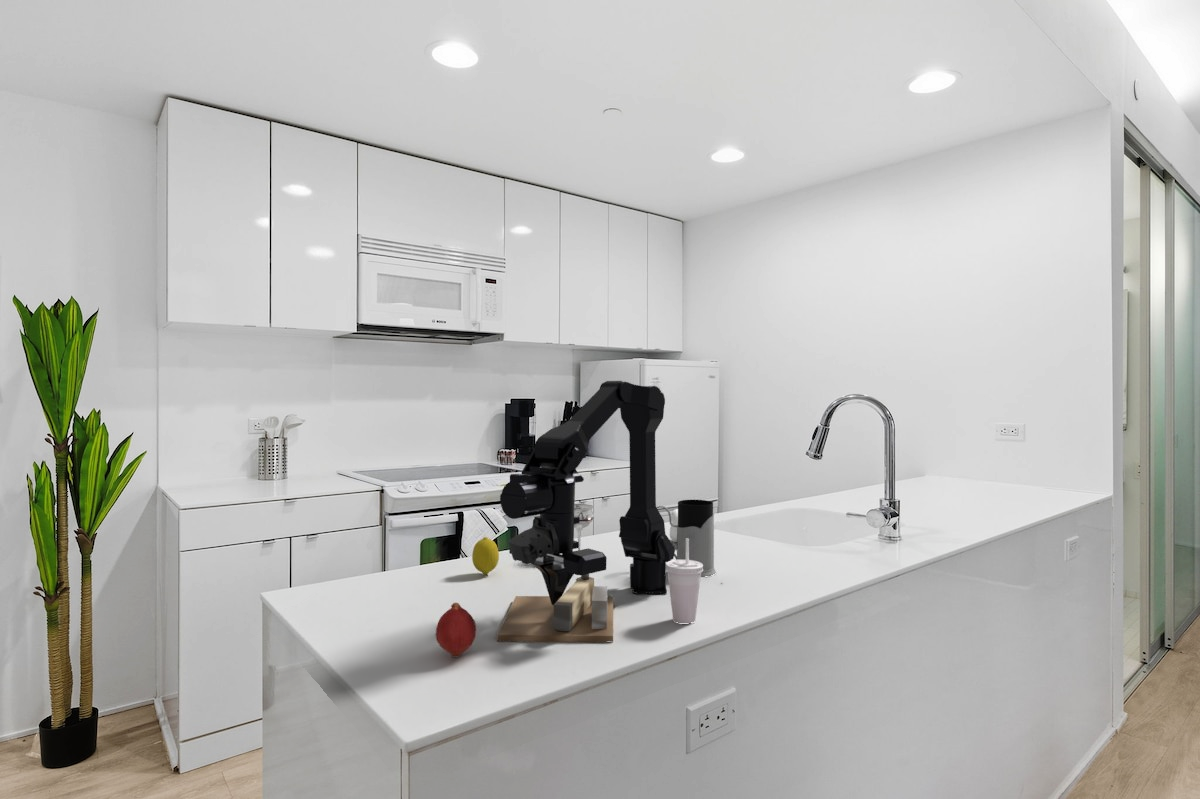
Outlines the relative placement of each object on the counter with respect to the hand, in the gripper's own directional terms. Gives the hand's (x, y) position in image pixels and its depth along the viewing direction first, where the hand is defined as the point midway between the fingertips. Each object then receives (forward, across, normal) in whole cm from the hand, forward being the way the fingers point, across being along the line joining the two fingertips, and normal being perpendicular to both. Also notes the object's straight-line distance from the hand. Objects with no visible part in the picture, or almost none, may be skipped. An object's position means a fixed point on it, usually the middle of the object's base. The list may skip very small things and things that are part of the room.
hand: (554, 604), depth 113 cm
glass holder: (+3, -7, +42) cm, 43 cm away
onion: (+4, 0, -19) cm, 19 cm away
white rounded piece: (+3, -23, +63) cm, 67 cm away
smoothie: (+3, +13, +17) cm, 22 cm away
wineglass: (+4, -31, +34) cm, 46 cm away
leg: (+2, +1, +4) cm, 5 cm away
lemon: (+4, -34, +9) cm, 36 cm away
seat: (+4, -2, +2) cm, 5 cm away
